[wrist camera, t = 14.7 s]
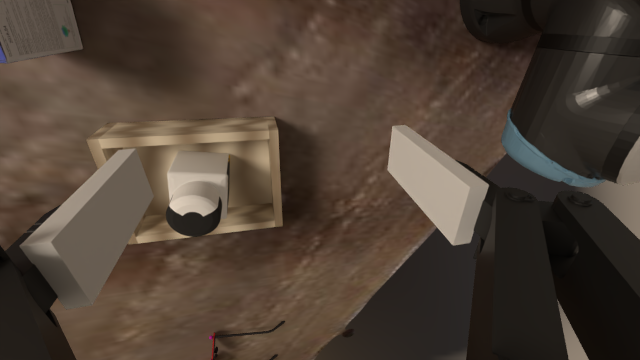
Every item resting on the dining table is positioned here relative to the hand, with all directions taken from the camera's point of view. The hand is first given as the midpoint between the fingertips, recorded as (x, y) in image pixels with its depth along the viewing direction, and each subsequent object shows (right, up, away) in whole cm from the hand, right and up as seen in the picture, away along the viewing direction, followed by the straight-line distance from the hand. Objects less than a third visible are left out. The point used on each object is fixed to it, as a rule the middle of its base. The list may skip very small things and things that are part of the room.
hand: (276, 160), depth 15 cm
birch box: (-15, 0, +29) cm, 33 cm away
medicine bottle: (-15, 0, +28) cm, 32 cm away
